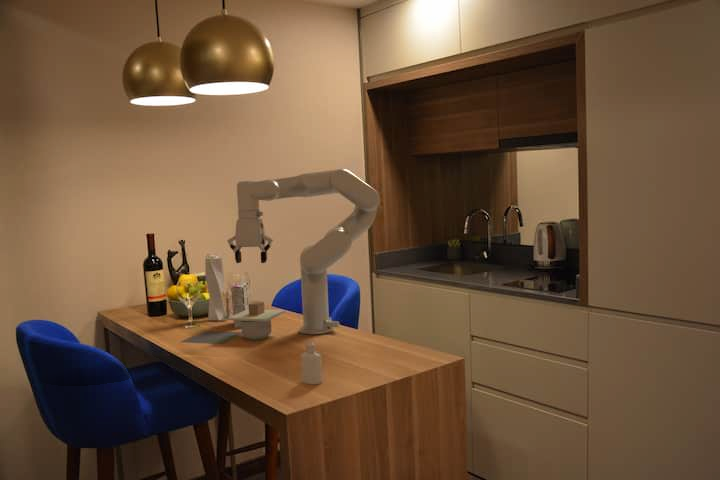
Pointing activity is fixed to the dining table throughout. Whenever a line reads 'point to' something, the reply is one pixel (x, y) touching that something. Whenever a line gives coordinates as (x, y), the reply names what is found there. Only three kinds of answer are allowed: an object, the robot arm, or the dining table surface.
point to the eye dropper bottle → (311, 365)
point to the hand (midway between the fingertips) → (251, 262)
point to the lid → (256, 313)
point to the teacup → (256, 329)
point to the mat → (213, 337)
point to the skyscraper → (216, 288)
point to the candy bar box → (240, 299)
